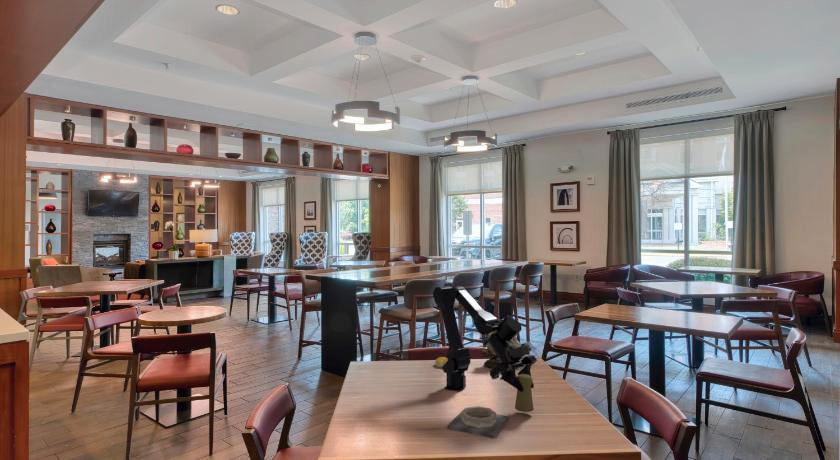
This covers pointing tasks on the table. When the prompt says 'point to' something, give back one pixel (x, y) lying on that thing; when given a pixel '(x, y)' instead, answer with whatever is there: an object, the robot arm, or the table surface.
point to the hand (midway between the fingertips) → (527, 389)
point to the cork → (524, 394)
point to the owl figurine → (490, 352)
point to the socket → (479, 421)
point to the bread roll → (440, 362)
